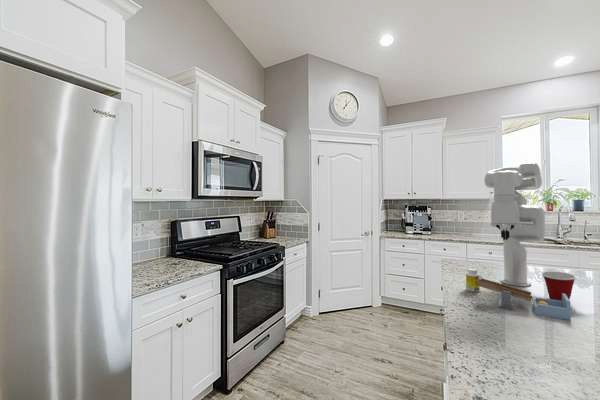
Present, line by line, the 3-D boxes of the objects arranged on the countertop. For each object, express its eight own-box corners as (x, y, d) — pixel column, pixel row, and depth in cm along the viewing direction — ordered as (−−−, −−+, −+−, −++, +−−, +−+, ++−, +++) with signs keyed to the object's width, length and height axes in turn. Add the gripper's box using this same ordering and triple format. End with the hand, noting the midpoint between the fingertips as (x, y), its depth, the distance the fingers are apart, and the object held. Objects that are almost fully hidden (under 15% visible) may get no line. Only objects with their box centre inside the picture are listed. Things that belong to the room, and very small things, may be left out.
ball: (541, 310, 109) (534, 302, 110) (550, 306, 107) (543, 298, 109) (542, 313, 106) (535, 305, 108) (552, 309, 105) (544, 301, 106)
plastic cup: (536, 299, 120) (535, 272, 120) (551, 296, 124) (550, 269, 124) (567, 308, 110) (566, 278, 110) (582, 304, 114) (582, 275, 114)
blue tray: (532, 306, 113) (531, 289, 113) (565, 311, 107) (565, 293, 107) (534, 314, 105) (534, 296, 105) (570, 320, 99) (570, 301, 99)
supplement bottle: (476, 293, 130) (475, 271, 130) (464, 289, 135) (463, 269, 135) (481, 290, 133) (481, 269, 133) (469, 287, 138) (469, 267, 138)
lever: (479, 279, 128) (480, 272, 127) (528, 293, 117) (530, 286, 117) (477, 285, 118) (478, 279, 117) (531, 302, 107) (532, 294, 107)
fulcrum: (499, 300, 120) (498, 284, 120) (513, 302, 117) (513, 286, 117) (498, 308, 112) (498, 290, 112) (514, 310, 109) (513, 292, 109)
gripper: (524, 198, 122) (525, 239, 122) (484, 198, 130) (485, 237, 131) (526, 198, 116) (527, 242, 116) (484, 199, 124) (485, 239, 125)
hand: (505, 239), depth 123 cm, fingers closed
